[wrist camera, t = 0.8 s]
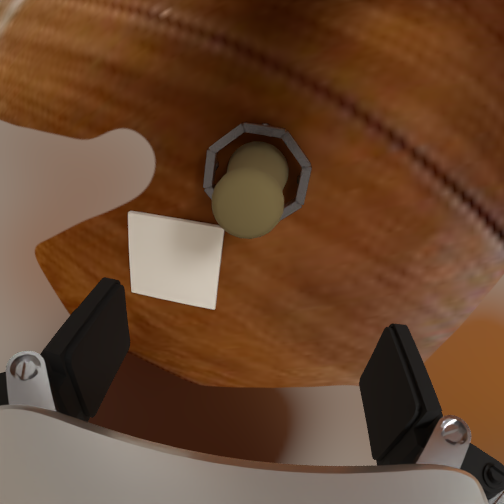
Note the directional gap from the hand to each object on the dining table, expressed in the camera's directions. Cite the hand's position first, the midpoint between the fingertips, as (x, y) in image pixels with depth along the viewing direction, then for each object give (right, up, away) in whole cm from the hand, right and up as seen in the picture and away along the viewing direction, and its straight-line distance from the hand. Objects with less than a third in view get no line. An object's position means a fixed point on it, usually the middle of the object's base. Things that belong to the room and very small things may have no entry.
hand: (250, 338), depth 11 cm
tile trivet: (-9, +2, +26) cm, 28 cm away
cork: (+1, +11, +20) cm, 23 cm away
